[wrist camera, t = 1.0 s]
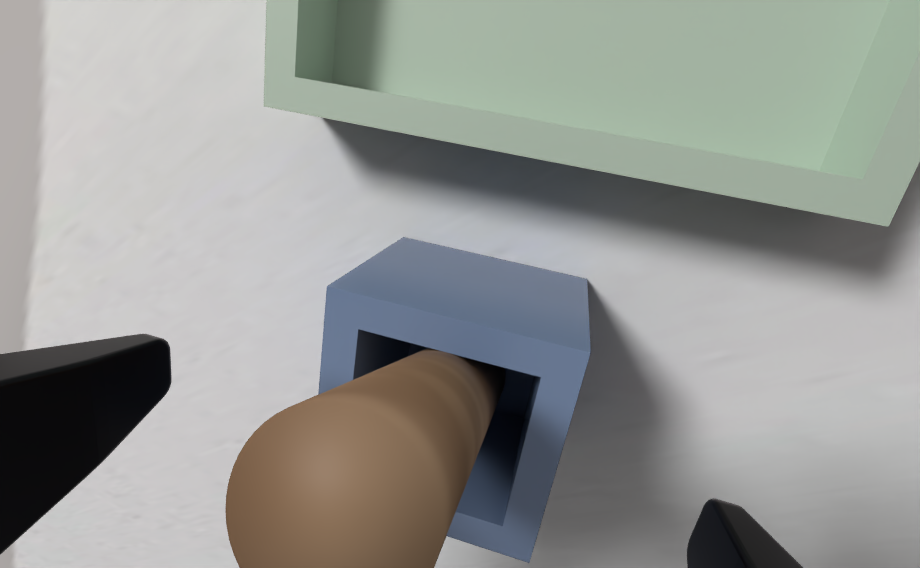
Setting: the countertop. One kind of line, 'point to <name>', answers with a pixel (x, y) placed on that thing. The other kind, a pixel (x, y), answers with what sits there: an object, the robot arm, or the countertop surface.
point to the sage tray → (630, 87)
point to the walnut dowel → (364, 468)
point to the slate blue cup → (483, 339)
